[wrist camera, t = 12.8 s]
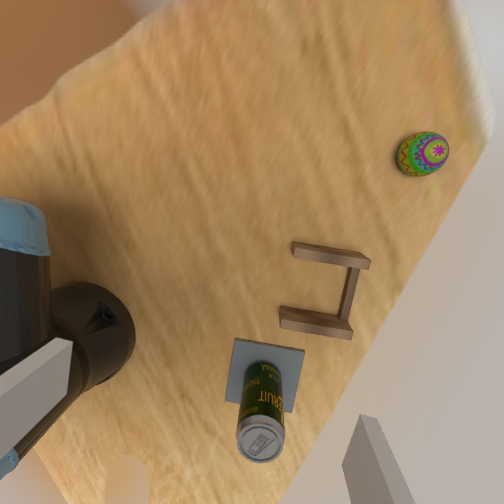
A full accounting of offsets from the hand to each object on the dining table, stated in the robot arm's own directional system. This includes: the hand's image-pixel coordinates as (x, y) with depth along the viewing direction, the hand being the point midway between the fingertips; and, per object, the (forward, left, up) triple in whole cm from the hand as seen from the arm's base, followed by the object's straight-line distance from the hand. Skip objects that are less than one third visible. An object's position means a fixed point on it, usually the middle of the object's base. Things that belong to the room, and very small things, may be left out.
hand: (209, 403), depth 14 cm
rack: (+10, -2, -28) cm, 30 cm away
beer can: (+4, -17, -28) cm, 33 cm away
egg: (+18, +16, -29) cm, 37 cm away
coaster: (+5, -17, -28) cm, 33 cm away
